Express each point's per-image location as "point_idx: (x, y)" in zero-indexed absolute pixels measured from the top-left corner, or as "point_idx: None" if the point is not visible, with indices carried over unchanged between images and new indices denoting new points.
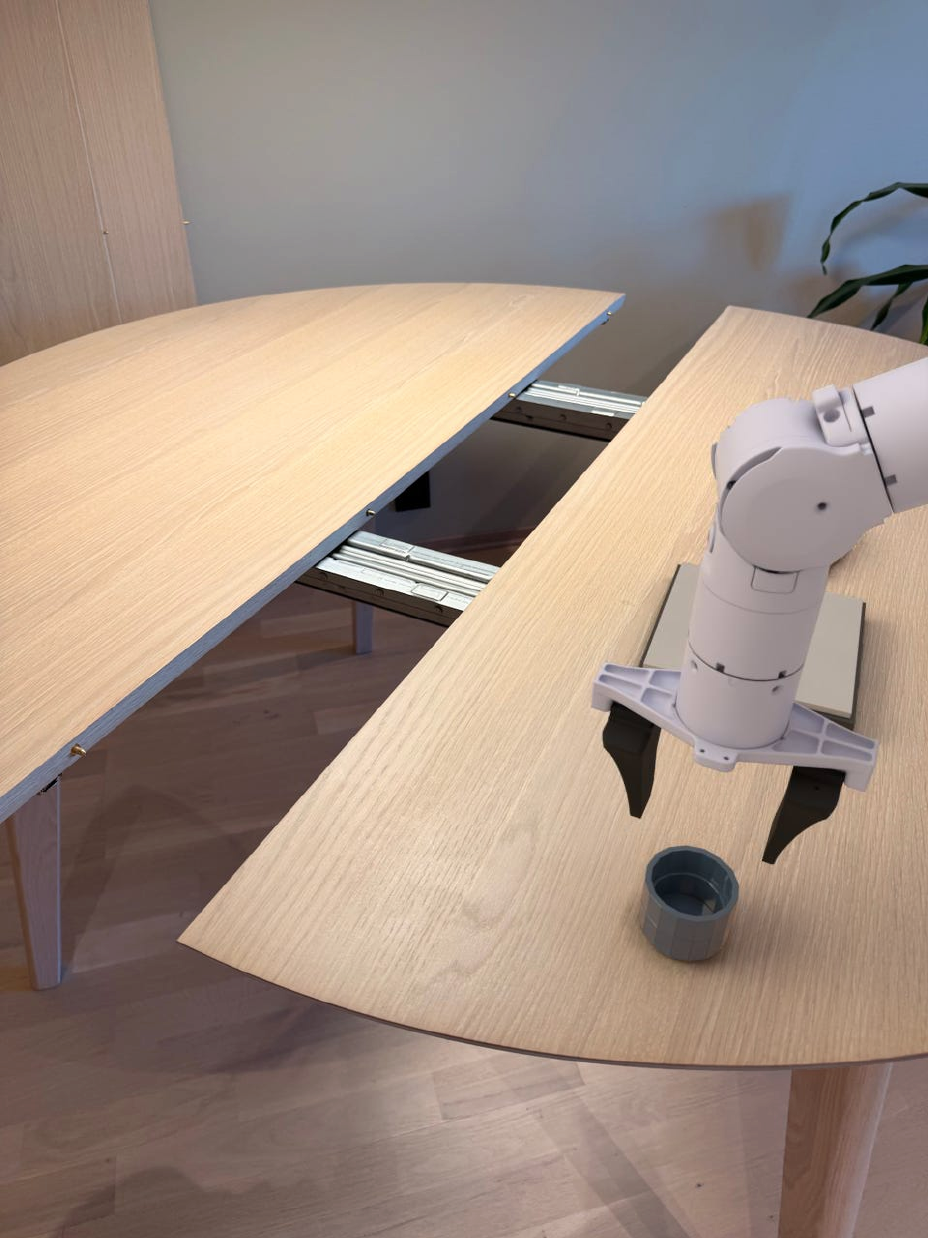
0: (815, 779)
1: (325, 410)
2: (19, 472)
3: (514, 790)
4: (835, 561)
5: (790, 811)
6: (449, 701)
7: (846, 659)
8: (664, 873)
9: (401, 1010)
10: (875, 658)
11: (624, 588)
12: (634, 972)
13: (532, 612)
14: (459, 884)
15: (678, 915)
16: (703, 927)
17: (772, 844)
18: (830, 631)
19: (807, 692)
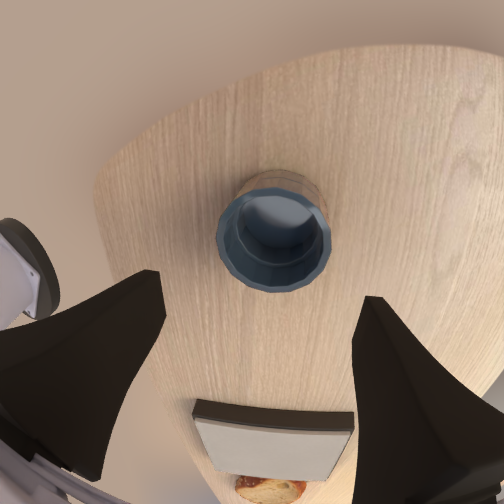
0: (3, 417)
1: None
2: None
3: (450, 308)
4: (239, 478)
5: (20, 351)
6: (487, 362)
7: (210, 447)
8: (308, 257)
9: (492, 58)
10: None
11: None
12: (314, 144)
13: None
14: (487, 196)
15: (278, 190)
16: (247, 190)
17: (120, 292)
18: (225, 459)
19: (226, 431)
